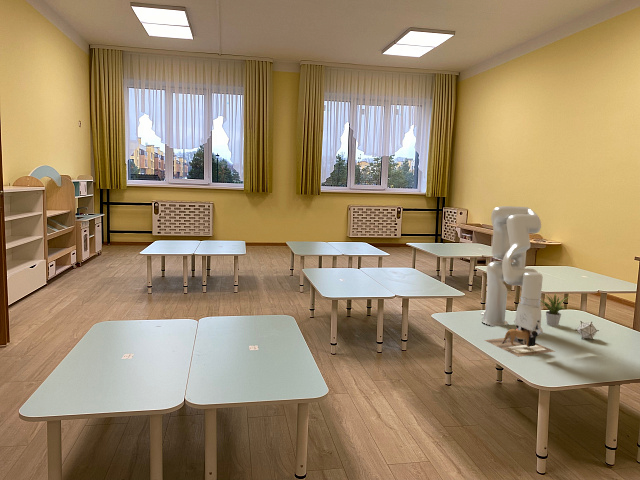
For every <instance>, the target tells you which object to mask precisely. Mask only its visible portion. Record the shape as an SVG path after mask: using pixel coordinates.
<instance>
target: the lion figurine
mask: <svg viewBox="0 0 640 480" xmlns="http://www.w3.org/2000/svg"><path fill="white" fill-rule="evenodd" d="M533 333H534V331H533ZM515 337H516V338H518V339H523V344H526V345H527V346H528V342H529V337H530V330H527V329H524V330H516V329H515V328H511V329H510V328H509V330H507V332H506V333H505V335H504V337H503V338H504V341H503V343H502V344H504V343H507V342H506V340H507V339H508V338H511V341H510V342H511V344H512V346H516V345H515V344H513V341H514V339H515ZM525 340H526V343H525ZM528 347H530V346H528Z"/></svg>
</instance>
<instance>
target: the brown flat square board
mask: <svg viewBox="0 0 640 480" xmlns="http://www.w3.org/2000/svg"><path fill="white" fill-rule="evenodd" d="M504 338H505V337H501V338H492V339H490V338H489V339H484V341H485V342H487V343H490V344H491V345H493V346H496V347H498V348H499V349H501V350H504V351H506V352H507V353H510V354H512V355H514V356H516V357H526V356H533V355H539V354H548V353H555V352H556V351H555V350H553V349H551V348H549V347H547V346H544V345H542V344H539V343H537V342H535V346H530V347H528V346H527V345H526V344H520V343H517V342H515V341H513V344H515V345H516V346H512V344H511V342H510V341H511V339H509V338H508V339H507V340H506V342H507V343H504V344H502V343H503V341H504Z"/></svg>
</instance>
